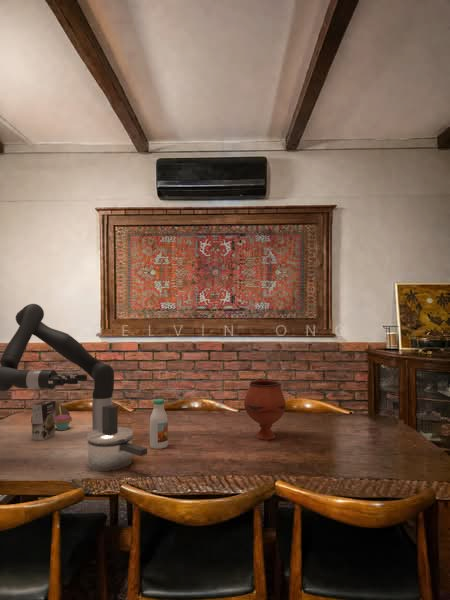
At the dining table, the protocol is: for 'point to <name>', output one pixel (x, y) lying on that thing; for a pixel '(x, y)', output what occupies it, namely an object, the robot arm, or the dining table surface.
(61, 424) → the cupcake
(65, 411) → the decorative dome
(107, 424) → the cooker lid
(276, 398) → the goblet
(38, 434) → the coffee box
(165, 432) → the milk bottle
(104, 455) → the cooker pot
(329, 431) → the dining table surface
